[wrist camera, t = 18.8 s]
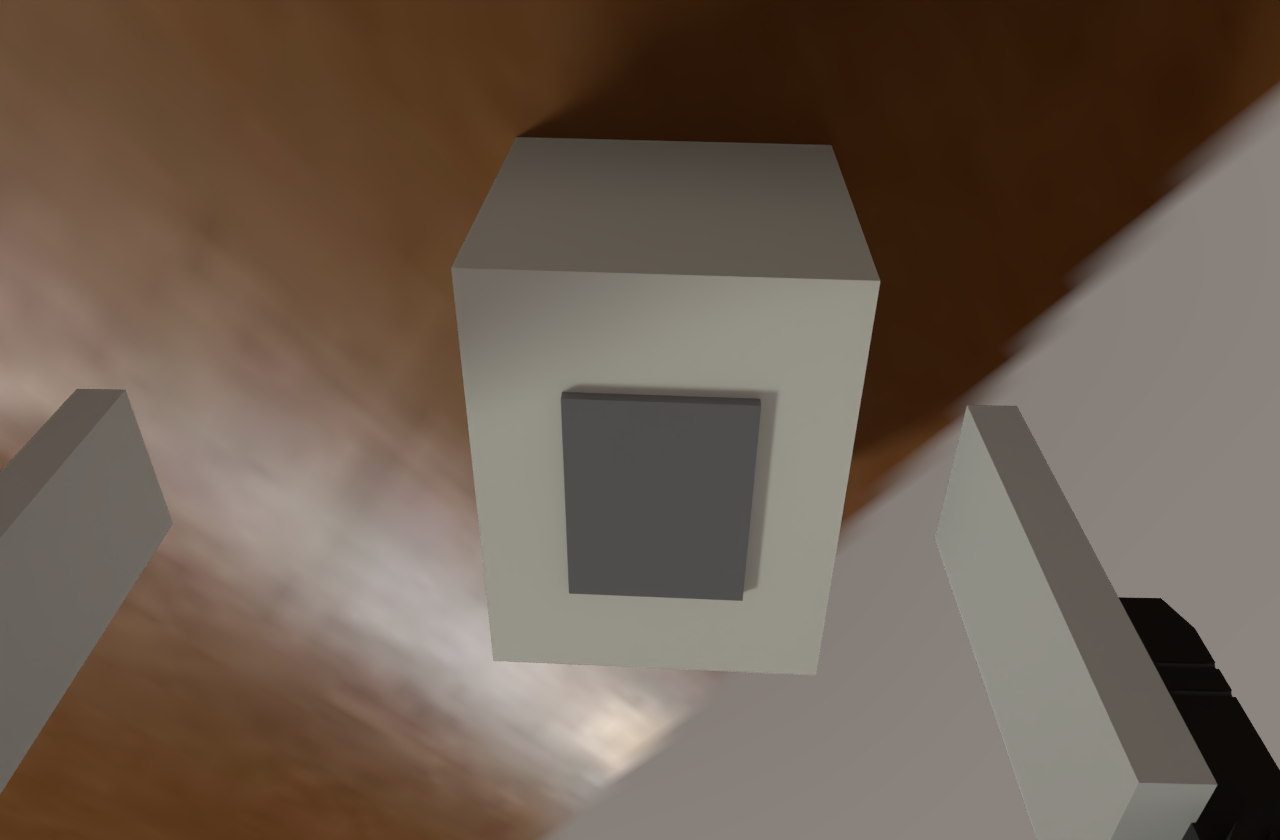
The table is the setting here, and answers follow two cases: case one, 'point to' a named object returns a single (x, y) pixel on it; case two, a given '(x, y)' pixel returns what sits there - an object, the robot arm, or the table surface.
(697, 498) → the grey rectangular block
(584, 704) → the table surface
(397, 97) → the table surface
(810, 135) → the table surface
